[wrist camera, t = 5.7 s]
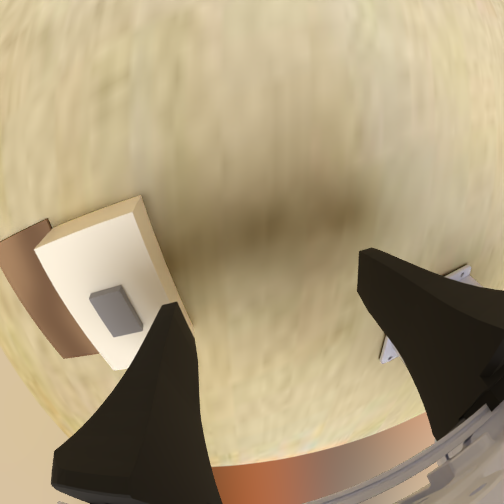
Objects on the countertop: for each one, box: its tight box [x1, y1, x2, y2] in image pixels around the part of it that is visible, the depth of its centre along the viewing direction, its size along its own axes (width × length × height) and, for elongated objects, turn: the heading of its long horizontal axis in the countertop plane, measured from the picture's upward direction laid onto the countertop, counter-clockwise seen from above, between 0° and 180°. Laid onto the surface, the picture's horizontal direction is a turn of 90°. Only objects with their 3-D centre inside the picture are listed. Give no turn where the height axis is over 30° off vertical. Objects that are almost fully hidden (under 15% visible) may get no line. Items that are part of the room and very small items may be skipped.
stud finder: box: [34, 195, 194, 371], centre depth 12 cm, size 5×8×3 cm, turn 10°
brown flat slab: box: [0, 219, 99, 359], centre depth 12 cm, size 5×9×1 cm, turn 11°
